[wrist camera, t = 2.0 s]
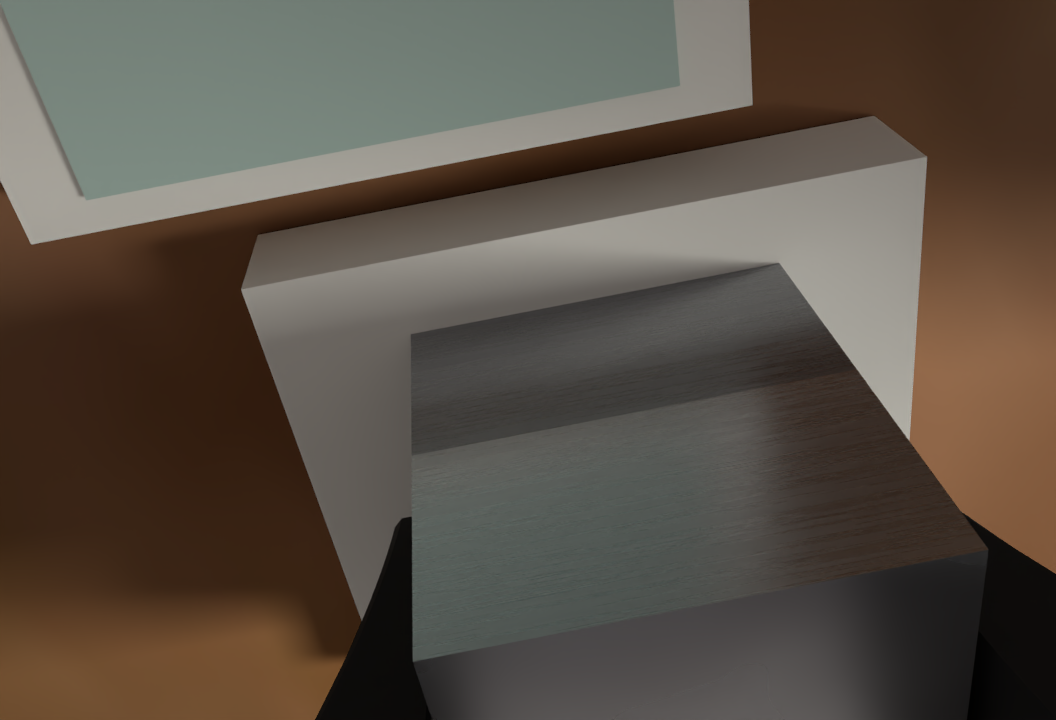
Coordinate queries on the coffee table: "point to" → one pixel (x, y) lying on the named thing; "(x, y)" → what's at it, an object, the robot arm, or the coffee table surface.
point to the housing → (678, 519)
